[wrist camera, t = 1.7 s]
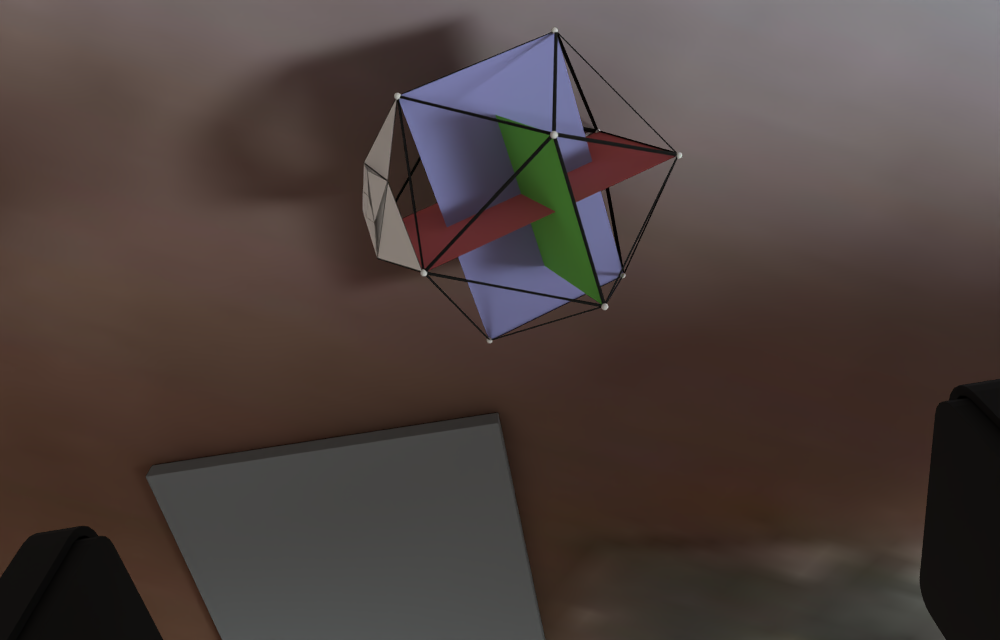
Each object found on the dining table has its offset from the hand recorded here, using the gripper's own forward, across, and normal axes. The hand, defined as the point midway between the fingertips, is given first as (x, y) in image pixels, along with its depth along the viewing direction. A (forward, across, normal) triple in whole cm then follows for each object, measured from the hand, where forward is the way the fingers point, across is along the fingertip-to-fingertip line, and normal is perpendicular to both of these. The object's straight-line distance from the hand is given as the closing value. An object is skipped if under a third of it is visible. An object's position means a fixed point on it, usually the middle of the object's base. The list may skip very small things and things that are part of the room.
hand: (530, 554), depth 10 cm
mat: (+16, +7, +15) cm, 23 cm away
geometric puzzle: (+16, -1, 0) cm, 16 cm away
